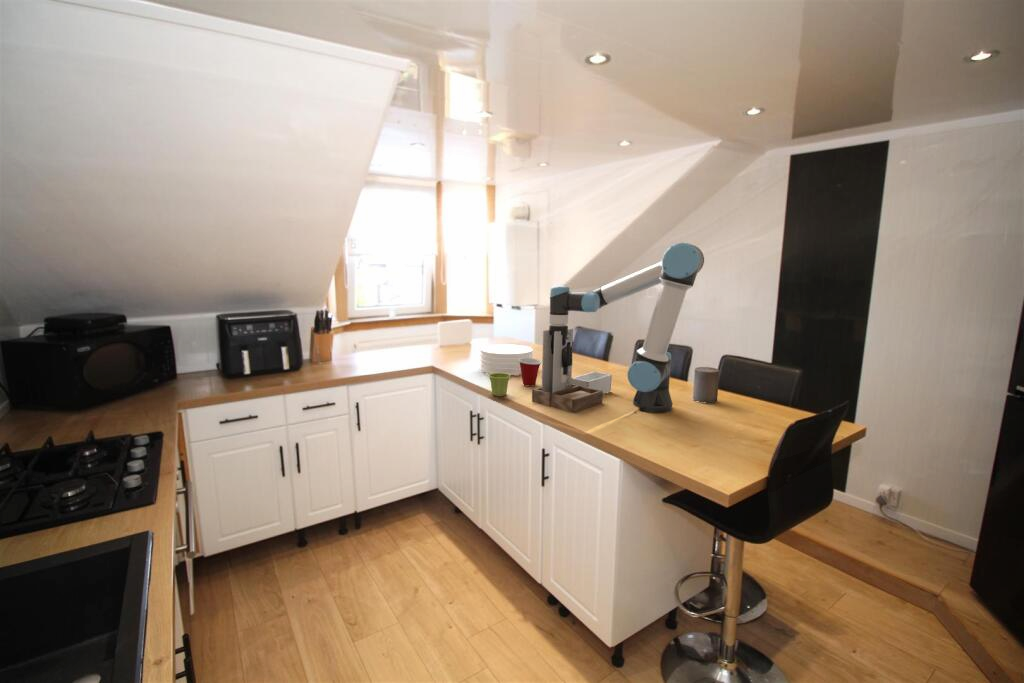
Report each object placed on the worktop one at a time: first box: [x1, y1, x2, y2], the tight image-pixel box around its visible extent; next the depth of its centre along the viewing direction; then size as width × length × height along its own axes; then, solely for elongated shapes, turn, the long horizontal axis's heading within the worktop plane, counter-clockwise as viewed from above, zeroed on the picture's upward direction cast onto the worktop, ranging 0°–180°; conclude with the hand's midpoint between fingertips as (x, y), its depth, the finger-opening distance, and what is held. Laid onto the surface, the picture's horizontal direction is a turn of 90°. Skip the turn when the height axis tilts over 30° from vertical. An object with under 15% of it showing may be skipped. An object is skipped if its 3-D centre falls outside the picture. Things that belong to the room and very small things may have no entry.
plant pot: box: [488, 373, 511, 397], centre depth 198 cm, size 9×9×9 cm
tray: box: [531, 384, 604, 414], centre depth 185 cm, size 21×19×6 cm
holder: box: [571, 371, 613, 395], centre depth 201 cm, size 9×18×8 cm, turn 136°
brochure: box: [541, 328, 574, 393], centre depth 187 cm, size 14×6×30 cm, turn 143°
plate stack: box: [479, 343, 534, 376], centre depth 246 cm, size 28×28×12 cm
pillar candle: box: [692, 365, 720, 404], centre depth 193 cm, size 10×10×15 cm
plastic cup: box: [519, 357, 542, 387], centre depth 215 cm, size 11×11×12 cm
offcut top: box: [561, 391, 591, 399], centre depth 182 cm, size 8×14×2 cm, turn 130°
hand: (556, 380), depth 188 cm, fingers closed on brochure, 6 cm apart
